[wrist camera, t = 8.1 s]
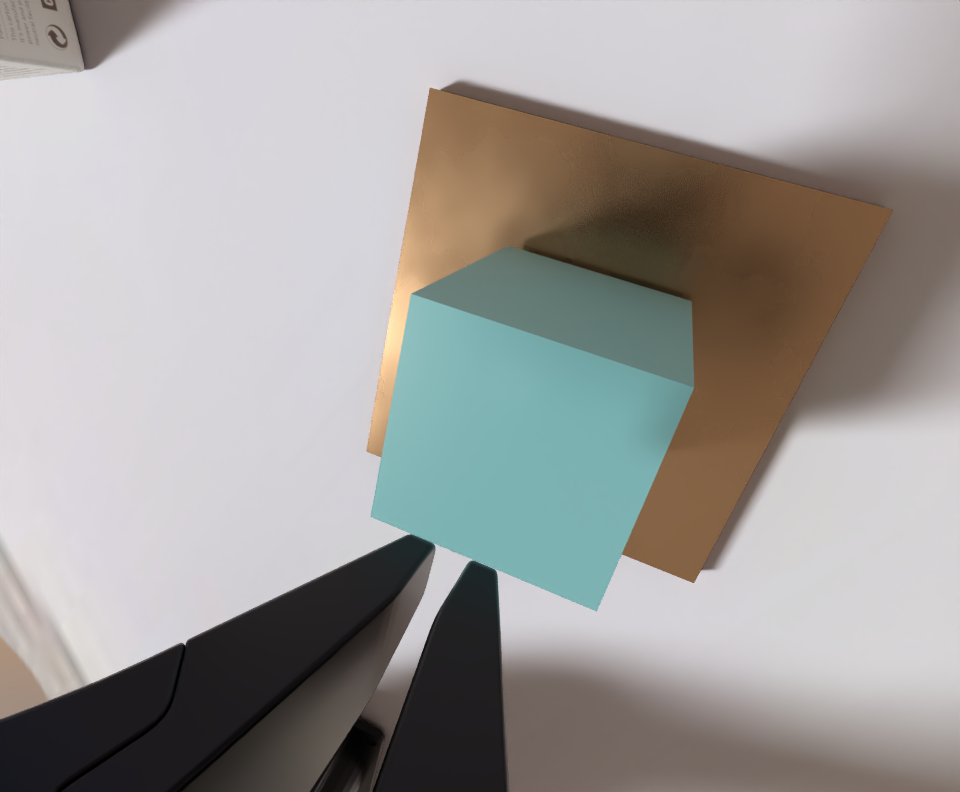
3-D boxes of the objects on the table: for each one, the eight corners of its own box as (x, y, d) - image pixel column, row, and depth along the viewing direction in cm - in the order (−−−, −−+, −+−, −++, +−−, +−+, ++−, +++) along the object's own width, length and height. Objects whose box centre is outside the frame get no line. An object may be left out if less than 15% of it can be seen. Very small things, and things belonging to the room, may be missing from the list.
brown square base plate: (693, 571, 19) (696, 763, 13) (374, 444, 22) (250, 557, 16) (885, 208, 14) (1035, 247, 8) (438, 90, 17) (289, 49, 10)
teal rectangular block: (626, 462, 18) (596, 611, 12) (468, 405, 19) (371, 516, 13) (691, 301, 15) (694, 387, 10) (508, 245, 16) (410, 293, 11)
